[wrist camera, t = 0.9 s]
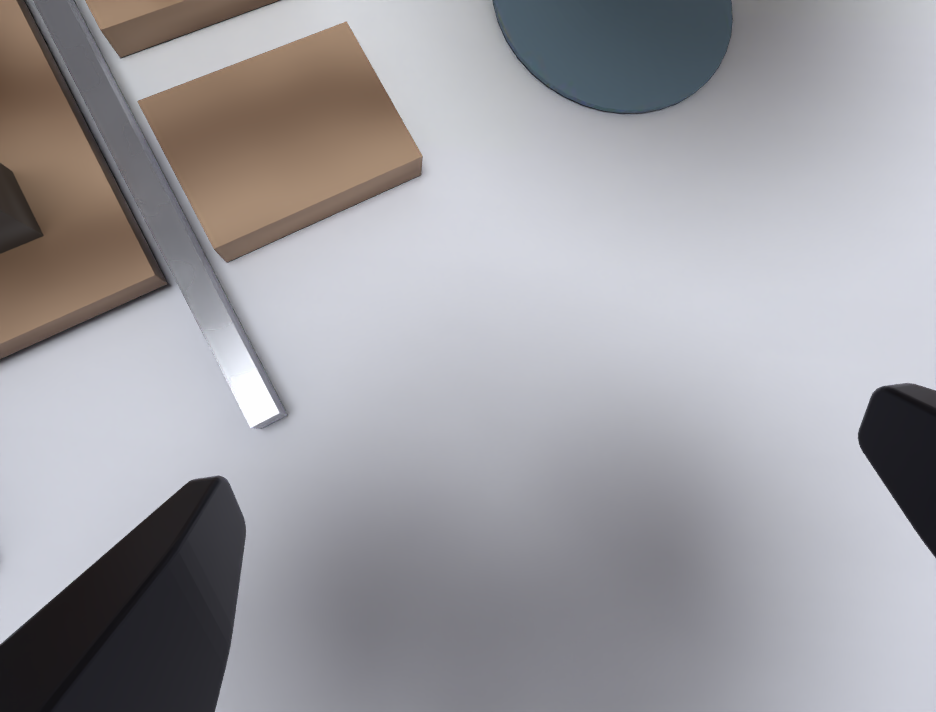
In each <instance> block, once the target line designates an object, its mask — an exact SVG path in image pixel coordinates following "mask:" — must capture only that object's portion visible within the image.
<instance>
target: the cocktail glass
mask: <svg viewBox="0 0 936 712" xmlns="http://www.w3.org/2000/svg"><path fill="white" fill-rule="evenodd" d="M493 4H494V8H495V12H496V16H497V19H498V22H499V25H500V27H501V29H502V31H503V34H504V36H505V38H506V40H507V42H508V43H509V45H510V46H511V48H512V49H513V51H514V53H515V54H516V56H517V57H518V58H519V59H520V61H521V62H522V63H523V64H524V65H525V66H526V67H527V68H528V69H529V71H530V72H531V73H532V74H534V75H535V76H536V77H537V78H538V79H540V80H541V81H542V82H543V83H544V84H546V85H547V86H548V87H550V88H551V89H553V90H555V91H556V92H558V93H559V94H561V95H563V96H564V97H566V98H569V99H571V100H573V101H575V102H578V103H580V104H582V105H585V106H588V107H592V108H595V109H599V110H602V111H610V112H617V113H643V112H649V111H654V110H660V109H663V108H666V107H668V106H671V105H674V104H676V103H679V102H680V101H682V100H684V99H685V98H687V97H689V96H690V95H692V94H694V93H695V92H696V91H697V90H698V89H699V88H701V87H702V86H703V85H704V84H705V83H706V82H707V81H708V80H709V79H710V78H711V76H712V75H713V74H714V72H715V71H716V70H717V69H718V67H719V65H720V63H721V61H722V59H723V57H724V55H725V53H726V51H727V47H728V44H729V40H730V37H731V30H732V20H733V18H732V3H731V0H493Z"/></svg>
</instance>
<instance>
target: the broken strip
mask: <svg viewBox="0 0 936 712" xmlns="http://www.w3.org/2000/svg"><path fill="white" fill-rule="evenodd" d="M85 1H86V3H87V5H88V7H89V9H90V11H91V13H92V15H93V17H94V18H95V20H96V22H97V24H98V26H99V28H100V30H101V31H102V33H103V34H104V36H105V37H106V38H107V40H108V41H109V43H110V44H111V45H112V47H113V48H114V50H115V51H116V52H117V54H118V55H119V57H120V58H121V57H124V56H127V55H130V54H132V53H135V52H138V51H141V50H143V49H146V48H149V47H152V46H154V45H157V44H160V43H163V42H165V41H168V40H171V39H174V38H176V37H179V36H182V35H185V34H187V33H190V32H193V31H196V30H198V29H201V28H204V27H207V26H210V25H212V24H215V23H218V22H221V21H223V20H226V19H229V18H232V17H234V16H237V15H240V14H243V13H245V12H248V11H251V10H254V9H256V8H259V7H262V6H265V5H267V4H270V3H273V2H276V1H278V0H85ZM137 102H138V103H139V105H140V107H141V109H142V111H143V113H144V115H145V117H146V119H147V121H148V123H149V125H150V127H151V129H152V130H153V132H154V134H155V136H156V138H157V140H158V142H159V144H160V146H161V148H162V150H163V152H164V154H165V156H166V158H167V159H168V161H169V163H170V165H171V167H172V169H173V171H174V173H175V175H176V177H177V179H178V181H179V183H180V185H181V186H182V188H183V190H184V192H185V194H186V196H187V198H188V200H189V202H190V204H191V206H192V208H193V210H194V212H195V214H196V215H197V217H198V219H199V221H200V223H201V225H202V227H203V229H204V231H205V233H206V235H207V237H208V239H209V241H210V242H211V244H212V246H213V248H214V250H215V251H216V252H217V253H218V254H219V255H220V256H221V257H222V258H223V259H224V260H225V261H226V262H229V261H231V260H234V259H236V258H238V257H240V256H242V255H245V254H247V253H249V252H251V251H254V250H256V249H258V248H260V247H262V246H265V245H267V244H269V243H271V242H273V241H276V240H278V239H280V238H282V237H285V236H287V235H289V234H291V233H293V232H296V231H298V230H300V229H302V228H304V227H307V226H309V225H311V224H313V223H316V222H318V221H320V220H322V219H324V218H327V217H329V216H331V215H333V214H336V213H338V212H340V211H342V210H344V209H347V208H349V207H351V206H353V205H355V204H358V203H360V202H362V201H364V200H367V199H369V198H371V197H373V196H375V195H378V194H380V193H382V192H384V191H386V190H389V189H391V188H393V187H395V186H398V185H400V184H402V183H404V182H406V181H409V180H411V179H413V178H415V177H417V176H420V175H421V169H422V157H423V156H422V154H421V153H420V151H419V149H418V147H417V146H416V144H415V142H414V140H413V138H412V137H411V135H410V133H409V131H408V130H407V128H406V126H405V124H404V123H403V121H402V119H401V117H400V115H399V114H398V112H397V110H396V108H395V107H394V105H393V103H392V101H391V99H390V98H389V96H388V94H387V92H386V91H385V89H384V87H383V85H382V84H381V82H380V80H379V78H378V76H377V75H376V73H375V71H374V69H373V68H372V66H371V64H370V62H369V60H368V59H367V57H366V55H365V53H364V52H363V50H362V48H361V46H360V44H359V43H358V41H357V39H356V37H355V36H354V34H353V32H352V30H351V29H350V27H349V25H348V23H347V22H344V23H342V24H339V25H336V26H334V27H331V28H328V29H326V30H323V31H320V32H318V33H315V34H313V35H310V36H307V37H305V38H302V39H299V40H297V41H294V42H292V43H289V44H286V45H284V46H281V47H278V48H276V49H273V50H271V51H268V52H265V53H263V54H260V55H257V56H255V57H252V58H249V59H247V60H244V61H242V62H239V63H236V64H234V65H231V66H228V67H226V68H223V69H221V70H218V71H215V72H213V73H210V74H207V75H205V76H202V77H200V78H197V79H194V80H192V81H189V82H186V83H184V84H181V85H178V86H176V87H173V88H171V89H168V90H165V91H163V92H160V93H157V94H155V95H152V96H150V97H147V98H144V99H142V100H139V101H137Z"/></svg>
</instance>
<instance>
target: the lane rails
mask: <svg viewBox="0 0 936 712" xmlns="http://www.w3.org/2000/svg"><path fill="white" fill-rule="evenodd" d="M33 1H34V3H35V5H36V7H37V9H38V11H39V12H40V14H41V16H42V18H43V20H44V22H45V24H46V26H47V28H48V30H49V32H50V34H51V36H52V38H53V40H54V42H55V44H56V46H57V48H58V50H59V52H60V54H61V56H62V58H63V60H64V62H65V64H66V66H67V68H68V70H69V71H70V73H71V75H72V77H73V79H74V81H75V83H76V85H77V87H78V89H79V91H80V93H81V95H82V97H83V99H84V101H85V103H86V105H87V107H88V109H89V111H90V113H91V115H92V117H93V119H94V121H95V123H96V125H97V127H98V129H99V131H100V132H101V134H102V136H103V138H104V140H105V142H106V144H107V146H108V148H109V150H110V152H111V154H112V156H113V158H114V160H115V162H116V164H117V166H118V168H119V170H120V172H121V174H122V176H123V178H124V180H125V182H126V184H127V186H128V188H129V190H130V191H131V193H132V195H133V197H134V199H135V201H136V203H137V205H138V207H139V209H140V211H141V213H142V215H143V217H144V219H145V221H146V223H147V225H148V227H149V229H150V231H151V233H152V235H153V237H154V239H155V241H156V243H157V245H158V247H159V249H160V251H161V252H162V254H163V256H164V258H165V260H166V262H167V264H168V266H169V268H170V270H171V272H172V274H173V276H174V278H175V280H176V282H177V284H178V286H179V288H180V290H181V292H182V294H183V296H184V298H185V300H186V302H187V304H188V306H189V308H190V310H191V311H192V313H193V315H194V317H195V319H196V321H197V323H198V325H199V327H200V329H201V331H202V333H203V335H204V337H205V339H206V341H207V343H208V345H209V347H210V349H211V351H212V353H213V355H214V357H215V359H216V361H217V363H218V365H219V367H220V369H221V371H222V372H223V374H224V376H225V378H226V380H227V382H228V384H229V386H230V388H231V390H232V392H233V394H234V396H235V398H236V400H237V402H238V404H239V406H240V408H241V410H242V412H243V414H244V416H245V418H246V420H247V422H248V424H249V426H250V428H257V429H262V428H264V427H266V426H268V425H270V424H272V423H274V422H276V421H278V420H280V419H281V418H283V417H285V416H287V413H286V411H285V409H284V407H283V405H282V403H281V401H280V399H279V397H278V395H277V393H276V391H275V389H274V387H273V386H272V384H271V382H270V380H269V378H268V376H267V374H266V372H265V370H264V368H263V366H262V364H261V362H260V360H259V358H258V356H257V354H256V353H255V351H254V349H253V347H252V345H251V343H250V341H249V339H248V337H247V335H246V333H245V331H244V329H243V327H242V325H241V323H240V322H239V320H238V318H237V316H236V314H235V312H234V310H233V308H232V306H231V304H230V302H229V300H228V298H227V296H226V294H225V292H224V291H223V289H222V287H221V285H220V283H219V281H218V279H217V277H216V275H215V273H214V271H213V269H212V267H211V265H210V263H209V261H208V259H207V258H206V256H205V254H204V252H203V250H202V248H201V246H200V244H199V242H198V240H197V238H196V236H195V234H194V232H193V230H192V228H191V227H190V225H189V223H188V221H187V219H186V217H185V215H184V213H183V211H182V209H181V207H180V205H179V203H178V201H177V199H176V197H175V196H174V194H173V192H172V190H171V188H170V186H169V184H168V182H167V180H166V178H165V176H164V174H163V172H162V170H161V168H160V166H159V164H158V163H157V161H156V159H155V157H154V155H153V153H152V151H151V149H150V147H149V145H148V143H147V141H146V139H145V137H144V135H143V133H142V132H141V130H140V128H139V126H138V124H137V122H136V120H135V118H134V116H133V114H132V112H131V110H130V108H129V106H128V104H127V102H126V101H125V99H124V97H123V95H122V93H121V91H120V89H119V87H118V85H117V83H116V81H115V79H114V77H113V75H112V73H111V71H110V69H109V68H108V66H107V64H106V62H105V60H104V58H103V56H102V54H101V52H100V50H99V48H98V46H97V44H96V42H95V40H94V38H93V37H92V35H91V33H90V31H89V29H88V27H87V25H86V23H85V21H84V19H83V17H82V15H81V13H80V11H79V9H78V7H77V6H76V4H75V2H74V0H33Z"/></svg>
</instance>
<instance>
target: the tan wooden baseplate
mask: <svg viewBox="0 0 936 712" xmlns="http://www.w3.org/2000/svg"><path fill="white" fill-rule="evenodd" d="M166 284H167V282H166V280H165V278H164V276H163V274H162V272H161V270H160V268H159V266H158V264H157V262H156V260H155V258H154V256H153V254H152V252H151V250H150V248H149V246H148V244H147V242H146V240H145V238H144V236H143V234H142V232H141V230H140V228H139V226H138V225H137V223H136V221H135V219H134V217H133V215H132V213H131V211H130V209H129V207H128V205H127V203H126V201H125V199H124V197H123V195H122V193H121V191H120V189H119V187H118V185H117V183H116V181H115V179H114V177H113V175H112V173H111V171H110V169H109V167H108V165H107V163H106V161H105V159H104V157H103V155H102V153H101V151H100V150H99V148H98V146H97V144H96V142H95V140H94V138H93V136H92V134H91V132H90V130H89V128H88V126H87V124H86V122H85V120H84V118H83V116H82V114H81V112H80V110H79V108H78V106H77V104H76V102H75V100H74V98H73V96H72V94H71V92H70V90H69V88H68V86H67V84H66V82H65V80H64V78H63V76H62V74H61V73H60V71H59V69H58V67H57V65H56V63H55V61H54V59H53V57H52V55H51V53H50V51H49V49H48V47H47V45H46V43H45V41H44V39H43V37H42V35H41V33H40V31H39V29H38V27H37V25H36V23H35V21H34V19H33V17H32V15H31V13H30V11H29V9H28V7H27V5H26V3H25V1H24V0H0V359H2V358H4V357H6V356H8V355H11V354H13V353H15V352H17V351H19V350H22V349H24V348H26V347H28V346H31V345H33V344H35V343H37V342H39V341H42V340H44V339H46V338H48V337H51V336H53V335H55V334H57V333H59V332H62V331H64V330H66V329H68V328H71V327H73V326H75V325H77V324H79V323H82V322H84V321H86V320H88V319H91V318H93V317H95V316H97V315H100V314H102V313H104V312H106V311H108V310H111V309H113V308H115V307H117V306H120V305H122V304H124V303H126V302H128V301H131V300H133V299H135V298H137V297H140V296H142V295H144V294H146V293H148V292H151V291H153V290H155V289H157V288H160V287H162V286H164V285H166Z"/></svg>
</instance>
